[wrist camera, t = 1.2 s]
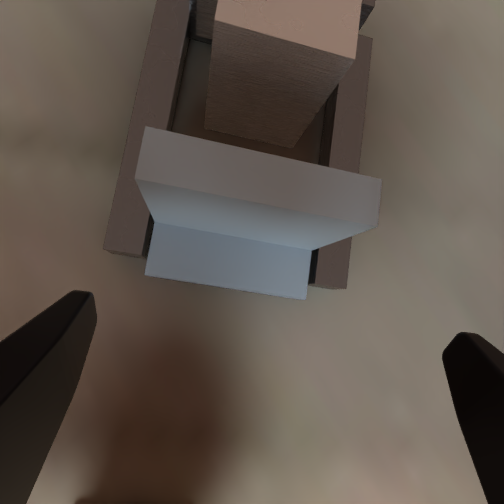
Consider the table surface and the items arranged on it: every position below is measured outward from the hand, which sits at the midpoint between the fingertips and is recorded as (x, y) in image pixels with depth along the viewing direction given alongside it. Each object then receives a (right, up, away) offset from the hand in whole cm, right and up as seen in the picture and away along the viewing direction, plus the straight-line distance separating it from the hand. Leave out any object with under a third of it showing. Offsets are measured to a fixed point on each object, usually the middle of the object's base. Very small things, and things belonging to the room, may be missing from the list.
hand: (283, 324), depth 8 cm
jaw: (-2, +2, +13) cm, 13 cm away
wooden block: (-1, +12, +15) cm, 19 cm away
